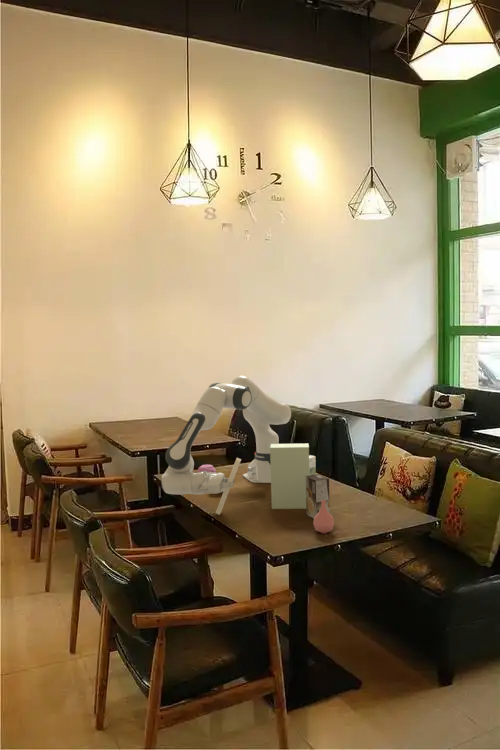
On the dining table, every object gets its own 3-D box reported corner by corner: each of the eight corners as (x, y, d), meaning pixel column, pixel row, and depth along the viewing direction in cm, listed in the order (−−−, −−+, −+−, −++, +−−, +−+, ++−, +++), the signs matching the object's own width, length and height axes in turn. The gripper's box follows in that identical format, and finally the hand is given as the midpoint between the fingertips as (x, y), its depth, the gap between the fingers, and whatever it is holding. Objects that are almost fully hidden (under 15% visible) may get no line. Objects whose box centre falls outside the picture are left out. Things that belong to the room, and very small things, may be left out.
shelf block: (271, 508, 274) (270, 447, 271) (272, 503, 281) (270, 443, 279) (310, 508, 272) (308, 447, 270) (309, 503, 280) (308, 443, 278)
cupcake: (219, 485, 315) (218, 464, 314) (203, 488, 310) (203, 467, 309) (210, 481, 323) (209, 461, 322) (194, 484, 318) (193, 464, 317)
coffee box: (330, 518, 258) (330, 478, 257) (316, 520, 256) (315, 480, 255) (319, 512, 267) (318, 473, 266) (305, 514, 264) (304, 475, 263)
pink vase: (315, 528, 247) (315, 497, 246) (335, 529, 244) (335, 498, 243) (311, 535, 239) (311, 503, 238) (332, 536, 237) (331, 504, 236)
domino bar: (235, 459, 265) (240, 461, 264) (236, 457, 269) (241, 459, 268) (215, 513, 267) (220, 515, 267) (216, 510, 271) (221, 512, 271)
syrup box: (305, 484, 312) (304, 454, 311) (316, 485, 309) (315, 455, 307) (299, 487, 307) (298, 456, 306) (310, 488, 304) (309, 458, 303)
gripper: (196, 482, 258) (231, 481, 257) (203, 470, 278) (235, 469, 277) (196, 497, 258) (231, 497, 257) (204, 484, 279) (236, 484, 278)
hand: (233, 482), depth 268 cm, fingers closed on domino bar, 4 cm apart
